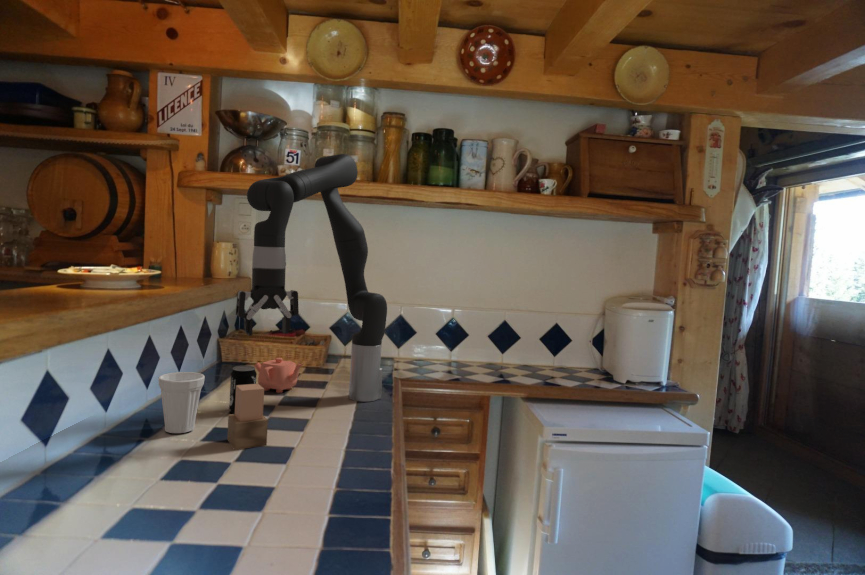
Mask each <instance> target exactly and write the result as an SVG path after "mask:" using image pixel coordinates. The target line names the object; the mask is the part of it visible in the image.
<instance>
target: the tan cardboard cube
mask: <svg viewBox="0 0 865 575" xmlns="http://www.w3.org/2000/svg"><path fill="white" fill-rule="evenodd" d="M264 388H265V387H262V386H260V385H259V384H258V383H256V384H247V385H236V397H235V413H234V414H235V416H236V418H237V419H238V420H239V421H240V422H241V421H250V420H259V419H263V416H264V402H265V399H264V398H265V391H264Z"/></svg>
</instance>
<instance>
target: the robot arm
mask: <svg viewBox="0 0 865 575" xmlns="http://www.w3.org/2000/svg"><path fill="white" fill-rule="evenodd" d="M357 166H358V165H357V163H356V161H355V159H354V158H353V157H352V156H351V155H350V154H349V155H348V154H345V153H340V154H333V155H328V156H323V157H319V158H317V159H316V161H315V162H314V167H310V168H305V169H301V170H297V171H294V172H290V173H288V174H285V175H282V176H277V177H270V178H264V179H259V180H256V181H254V182H253V183H252V184H251V185H249V187H248V189H247V193H246V200H247V202H248V204H249V205H250V207H252V208H253V209H254V210H257V211H260V212H270V213H269V215H268V217H267V218H266V219H265V220H262V221H258V222H256V223H255V224H254V231H253V252H252V260H251V261H252V264H251V266H252V267H251V273H252V274H251V289H250V291H243V290H238V291H237V292H236V304H235V316H237V317H239V318H242V319H243V331H244V333H245V334H246V335H247V336H248V337H249V336H253V323H254V321H253V319H252V318H253V317H254V316H255V314H256V313H258V311H259V310H268V309H271V310H278V311H279V312H280V313H281V314H282V316H283V317H282V321H281V322H282V323H281V324H282V325H281V332H282V334H288V333H289V331H291V321H292V320H291V319H292V317H294V316H298V315H299V292H298V291H297V290H295V289H294V290H293V289H291V290H286V266H287V258H286V257H287V256H286V248H285V247H286V230H287V227H288V224H289V220H290V216H291V213H292V210H293V207H294V204H295V203H297V202H300V201H303V200H305V199H307V198H310V197H313V196H315V195H317V194H319V193H320V195H321V198H322V201H323V203H324V206H325V208H326V213H327V217H328V219H329V223H330V227H331V231H332V236H333V240H334V245H335V249H336V251H337V255H338V256H337V257H338V259H339V263H340V267H341V272H342V275H343V280H344V286H345V287H344V288H345V291H346V292H345V293H346V300H347V301H346V302H347V306H348V310H349V313H350V315H351V317H352V318H354V319H355V320H357V321H361V322H362V323H361V328H360V330H359V331H357V332H354V333H353V334H352V338H351V353H350V370H349V383H348V384H349V387H348V399H350V400H352V401H356V402H364V403H365V402H373V401H377V400H380V399H381V398H382V384H383V383H382V382H383V368H382V367H381V362H382V360H381V359H382V342H383V339H384V335H385V333H386V326H387V317H388V316H387V315H388V304H387V300H386V298H385V297H384V295H382V294H380V293H376V292H369V291H368V290H369V289H368V287H367V283H366V279H365V269H366V264H367V260H368V254H369V247H368V243H367V242H368V241H367V238H366V235H365V231H364V227H363V226H362V225H361V223H360V222H359V221H358V219H357V218H356V217H355V216H354V215H353V214H352V213H351V211H350V210H349V209H348V208H347V207H346V205H345V204H344V202H343V200H342V198H341V195H340V192H339V189H340V188H347V187H350V186H351V185H354V184H355V182H356V180H357V178H358V174H359V173H358V167H357ZM249 297H250V298H251V300H252V303H251V304H250V305H249V306H248V309H247V310H246V311H245V306H246V301H248V299H249ZM286 298H287V299H288V300H289V308H290V310H289V309H288V307H287V306H286V304H285V303H284V300H285V299H286ZM381 400H382V399H381Z"/></svg>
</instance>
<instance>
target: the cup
mask: <svg viewBox="0 0 865 575" xmlns="http://www.w3.org/2000/svg"><path fill="white" fill-rule="evenodd" d="M205 379H206V378H205V375H204V373H200V372H192V371H178V372H176V371H175V372H169V373H164V374H161V375H160V376H159V377H158V386H159V389H160V393H161V394H160V396H161V404H162V411H163V412H162V413H163V419H164V420H163V422H164V430H165V432H167V433H170V434H183V433H184V434H185V433H188V432H191V431H193V430H194V429H195V424H196V420H197V419H196V418H197V411H198V406H199V402H200V396H201V391H202V388H203V387H204V384H205Z"/></svg>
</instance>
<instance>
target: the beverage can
mask: <svg viewBox="0 0 865 575" xmlns="http://www.w3.org/2000/svg"><path fill="white" fill-rule="evenodd" d="M247 384H257V371H256V368H255V367H254V366H252V365H236V366H233V367H232V371H231V373H230V387H229V388H230V389H229V411H230V412H231V413H232V414H235V397H236V385H247Z"/></svg>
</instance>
